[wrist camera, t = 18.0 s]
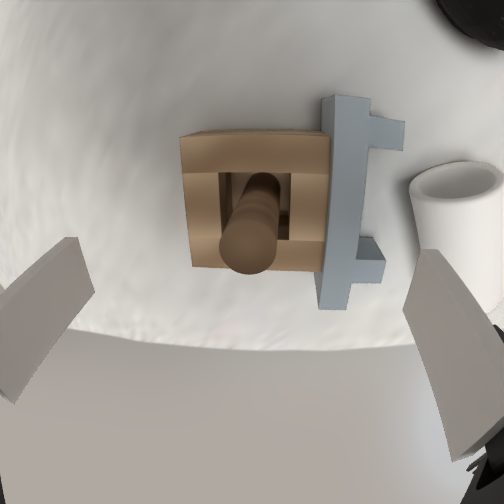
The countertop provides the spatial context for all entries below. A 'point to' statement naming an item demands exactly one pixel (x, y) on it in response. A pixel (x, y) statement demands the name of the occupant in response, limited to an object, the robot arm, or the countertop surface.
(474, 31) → the bottle
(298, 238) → the block
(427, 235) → the mug
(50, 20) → the countertop surface
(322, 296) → the backstop wall
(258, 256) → the dowel
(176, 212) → the countertop surface
